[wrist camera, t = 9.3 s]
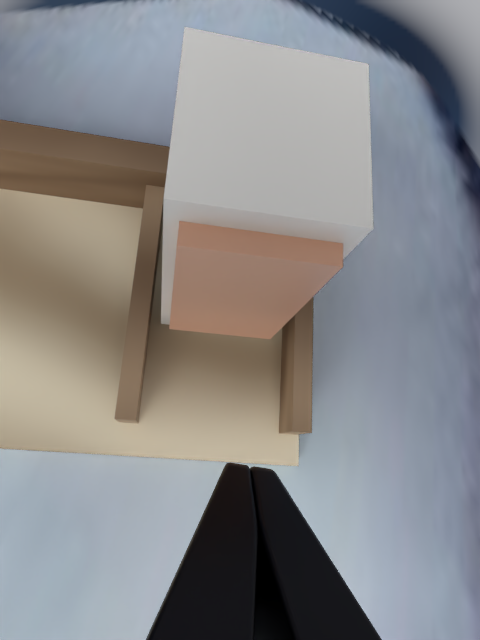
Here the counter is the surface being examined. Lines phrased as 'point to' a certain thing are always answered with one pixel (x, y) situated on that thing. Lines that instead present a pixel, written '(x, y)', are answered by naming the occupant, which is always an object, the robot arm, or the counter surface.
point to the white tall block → (261, 182)
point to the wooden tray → (123, 319)
